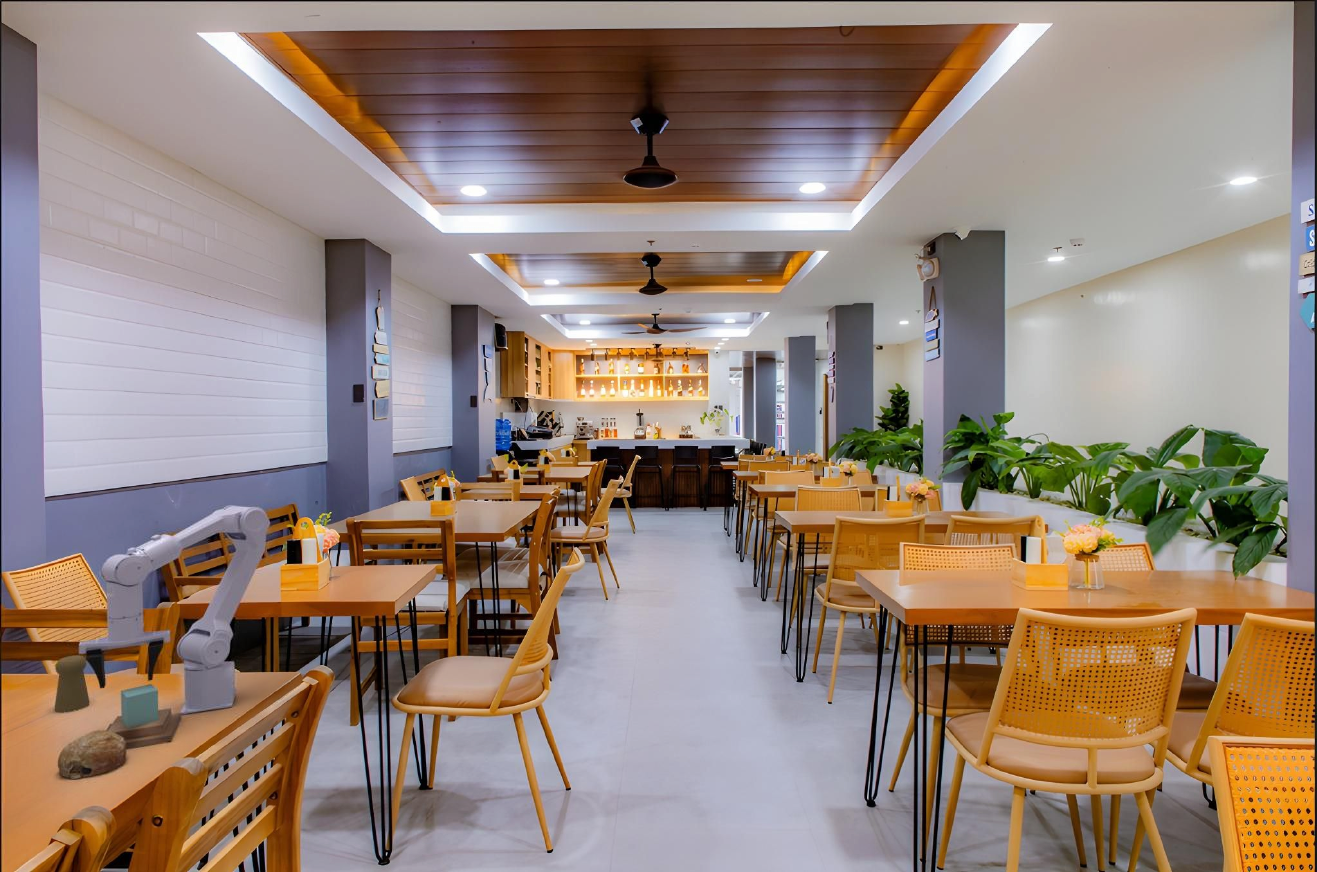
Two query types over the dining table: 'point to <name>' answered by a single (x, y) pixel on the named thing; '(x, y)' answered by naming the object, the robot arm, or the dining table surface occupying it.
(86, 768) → the brown rounded lump
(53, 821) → the dining table surface
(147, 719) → the teal block
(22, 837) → the dining table surface
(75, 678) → the cork
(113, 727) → the walnut stand
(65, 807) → the dining table surface
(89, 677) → the dining table surface
